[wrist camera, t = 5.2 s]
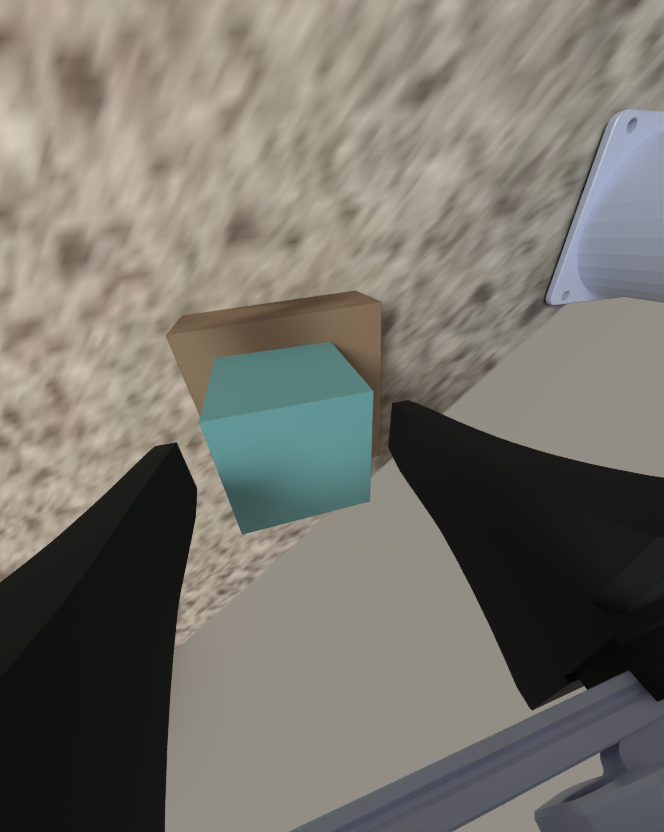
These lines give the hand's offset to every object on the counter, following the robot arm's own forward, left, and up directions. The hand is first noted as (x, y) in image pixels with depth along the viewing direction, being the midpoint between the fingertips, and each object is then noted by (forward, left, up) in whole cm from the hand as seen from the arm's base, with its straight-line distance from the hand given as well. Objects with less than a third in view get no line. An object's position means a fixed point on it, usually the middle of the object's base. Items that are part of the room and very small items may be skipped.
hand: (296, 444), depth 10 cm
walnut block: (0, 0, -7) cm, 7 cm away
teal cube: (0, 0, -3) cm, 3 cm away
